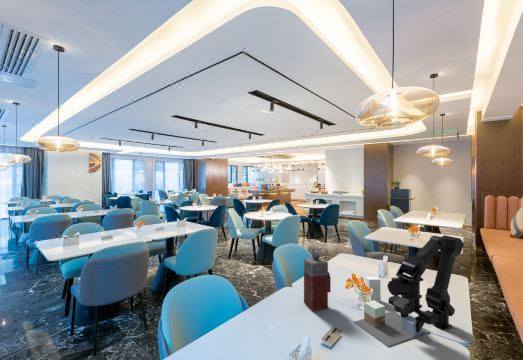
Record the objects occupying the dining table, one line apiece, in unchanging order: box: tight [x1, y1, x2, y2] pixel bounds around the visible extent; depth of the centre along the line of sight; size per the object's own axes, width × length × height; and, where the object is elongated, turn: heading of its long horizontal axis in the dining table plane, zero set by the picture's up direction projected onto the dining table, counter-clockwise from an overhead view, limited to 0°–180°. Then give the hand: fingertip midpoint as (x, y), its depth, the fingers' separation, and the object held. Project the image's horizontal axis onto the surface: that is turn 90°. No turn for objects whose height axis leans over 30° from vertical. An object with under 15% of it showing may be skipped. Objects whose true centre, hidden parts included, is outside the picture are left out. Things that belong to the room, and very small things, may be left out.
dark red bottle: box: [303, 249, 332, 312], centre depth 128 cm, size 9×11×28 cm
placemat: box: [353, 310, 431, 348], centre depth 109 cm, size 24×18×1 cm
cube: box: [402, 314, 422, 336], centre depth 106 cm, size 5×5×5 cm
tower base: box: [363, 311, 385, 327], centre depth 113 cm, size 6×6×4 cm
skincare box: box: [365, 276, 381, 303], centre depth 133 cm, size 6×4×12 cm
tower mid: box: [363, 300, 386, 318], centre depth 112 cm, size 6×6×4 cm
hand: (411, 329), depth 106 cm, fingers closed on cube, 5 cm apart
